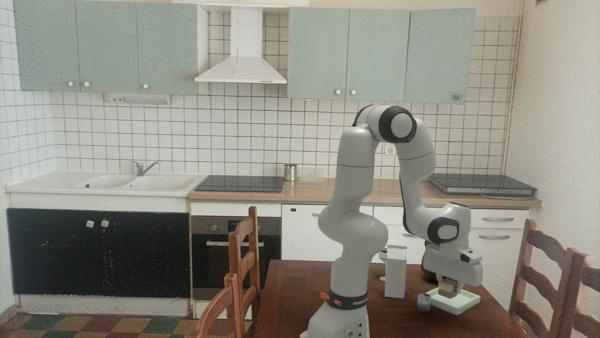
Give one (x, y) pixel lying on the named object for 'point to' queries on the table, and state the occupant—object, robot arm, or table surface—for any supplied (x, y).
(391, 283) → the milk carton
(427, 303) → the grey rounded cylinder
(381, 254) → the wineglass
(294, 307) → the table surface
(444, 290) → the beech block
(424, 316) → the table surface
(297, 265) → the table surface
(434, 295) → the tray
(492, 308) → the table surface
